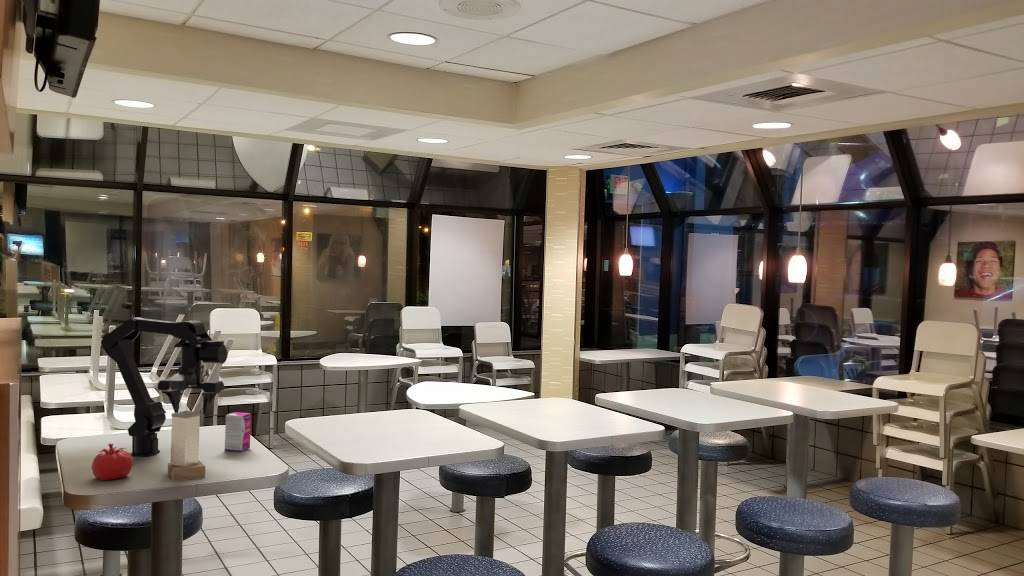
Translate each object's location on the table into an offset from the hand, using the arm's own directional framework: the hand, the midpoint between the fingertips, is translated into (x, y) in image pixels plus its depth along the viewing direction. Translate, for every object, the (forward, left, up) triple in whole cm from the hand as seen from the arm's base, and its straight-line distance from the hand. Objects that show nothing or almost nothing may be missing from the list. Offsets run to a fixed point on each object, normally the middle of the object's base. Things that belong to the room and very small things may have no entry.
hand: (190, 413), depth 235 cm
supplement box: (+9, +12, -13) cm, 20 cm away
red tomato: (-7, -26, -13) cm, 30 cm away
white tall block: (+10, -20, -10) cm, 24 cm away
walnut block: (+11, -20, -13) cm, 26 cm away
